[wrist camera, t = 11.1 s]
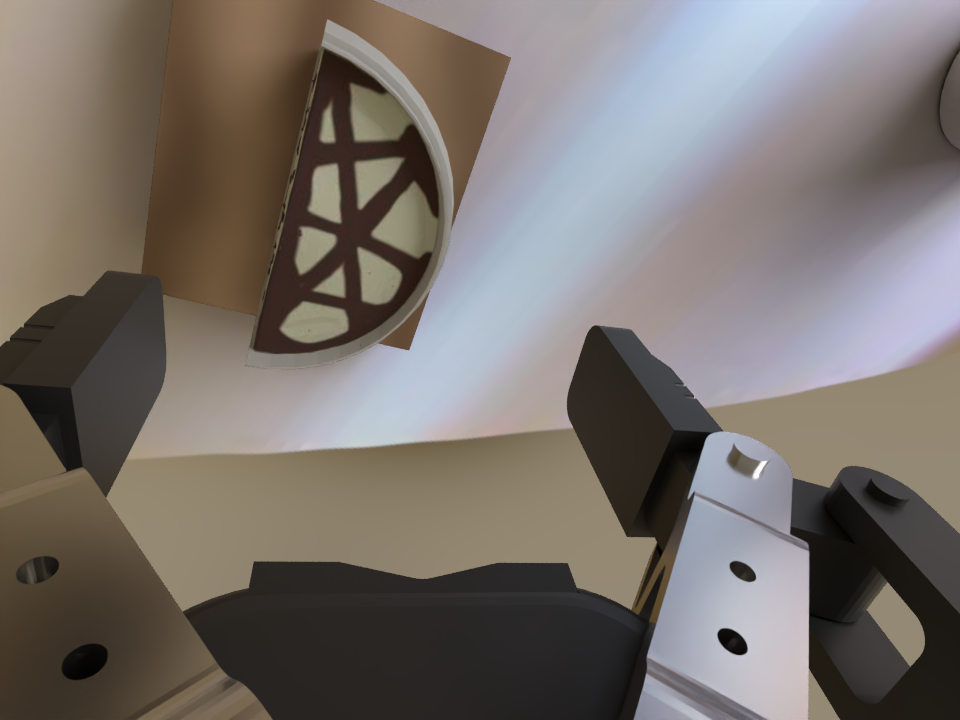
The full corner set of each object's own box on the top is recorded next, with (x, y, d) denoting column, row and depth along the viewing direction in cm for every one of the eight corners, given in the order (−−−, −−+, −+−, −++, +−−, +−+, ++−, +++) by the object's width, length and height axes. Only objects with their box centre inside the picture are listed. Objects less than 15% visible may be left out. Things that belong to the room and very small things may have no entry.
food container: (383, 301, 33) (400, 408, 24) (266, 271, 31) (242, 377, 22) (462, 66, 27) (519, 102, 19) (328, 10, 25) (326, 22, 17)
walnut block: (489, 50, 32) (511, 57, 28) (402, 312, 39) (409, 350, 35) (208, -67, 27) (182, -80, 23) (165, 253, 34) (139, 289, 30)
